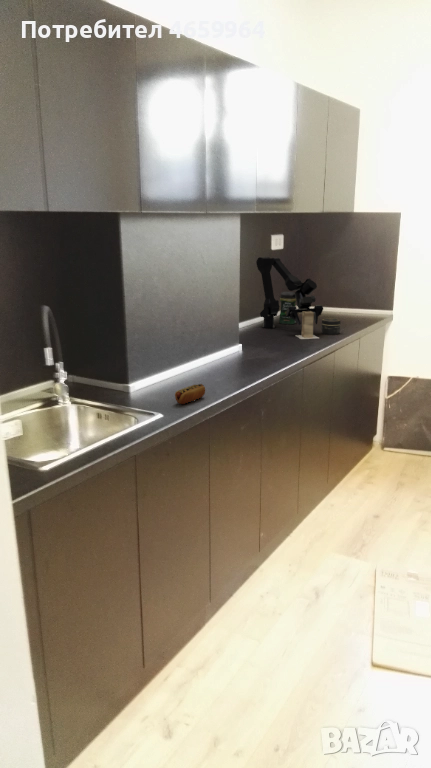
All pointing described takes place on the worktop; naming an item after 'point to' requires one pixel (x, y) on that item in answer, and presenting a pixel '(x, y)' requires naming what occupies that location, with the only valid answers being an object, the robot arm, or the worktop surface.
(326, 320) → the jar
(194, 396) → the hot dog
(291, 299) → the coffee jar
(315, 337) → the card
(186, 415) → the worktop surface
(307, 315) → the oak block
